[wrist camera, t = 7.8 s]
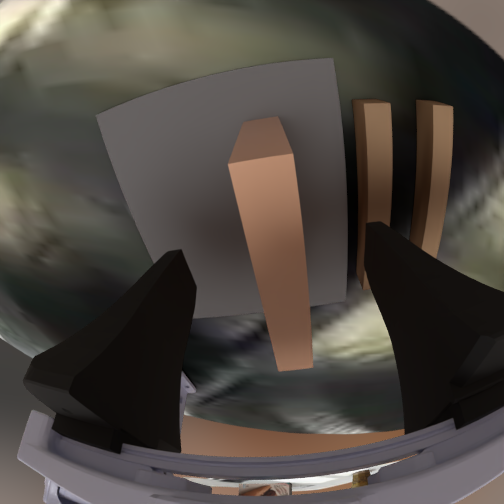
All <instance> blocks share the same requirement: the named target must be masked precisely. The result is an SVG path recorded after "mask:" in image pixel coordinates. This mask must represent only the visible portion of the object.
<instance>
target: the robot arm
mask: <svg viewBox="0 0 504 504" xmlns="http://www.w3.org/2000/svg"><path fill="white" fill-rule="evenodd" d="M364 268H365V272H366V275H367V279H368V282H369V285H370V288H371V291H372V293H373V295H374V298H375V300H376V303H377V305H378V307H379V310H380V312H381V315H382V317H383V320H384V322H385V325H386V327H387V330H388V333H389V336H390V339H391V342H392V346H393V351H394V355H395V359H396V364H397V369H398V374H399V380H400V386H401V394H402V402H403V412H404V429H405V435H403V436H399V437H395V438H392V439H388V440H384V441H380V442H376V443H372V444H368V445H363V446H358V447H353V448H347V449H341V450H335V451H328V452H321V453H313V454H304V455H294V456H277V457H217V456H203V455H192V454H181V440H180V434H181V427H182V421H183V415H184V409H185V403H186V397H187V393H195V392H196V388H195V387H194V385H193V384H192V383H191V382H190V380H189V379H188V378H187V376H186V375H185V374H184V373H183V371H182V365H183V359H184V353H185V349H186V345H187V340H188V336H189V332H190V328H191V324H192V319H193V315H194V310H195V304H196V293H197V286H196V283H195V281H194V278H193V276H192V274H191V271H190V269H189V266H188V264H187V261H186V259H185V256H184V254H183V251H182V249H178V250H172V251H167V252H166V253H165V254H164V255H163V256H162V257H161V258H160V259H159V260H158V261H157V262H156V263H155V264H154V265H153V266H152V267H151V268H150V269H149V270H148V271H147V272H146V273H145V274H144V275H143V276H142V277H141V278H140V279H139V280H138V281H137V282H136V283H135V284H134V285H133V286H132V287H131V288H130V289H129V290H128V291H127V292H126V293H125V294H124V295H123V296H122V297H121V298H120V299H119V300H118V301H117V302H115V303H114V304H113V305H112V306H111V307H110V308H109V309H107V310H106V311H105V312H104V313H103V314H101V315H100V316H99V317H98V318H96V319H95V320H94V321H92V322H91V323H90V324H88V325H87V326H86V327H84V328H83V329H82V330H80V331H79V332H77V333H76V334H74V335H73V336H71V337H70V338H68V339H66V340H65V341H63V342H61V343H60V344H58V345H56V346H54V347H52V348H50V349H48V350H47V351H45V352H43V353H41V354H39V355H37V356H35V357H34V358H33V360H32V362H31V364H30V366H29V368H28V370H27V373H26V375H25V377H24V379H23V383H24V386H25V387H26V389H27V390H28V391H29V392H30V393H31V394H33V395H34V396H35V397H36V398H37V399H39V400H40V401H41V402H43V403H44V404H45V405H46V406H48V407H49V408H50V409H52V410H53V411H54V412H56V417H55V419H54V418H52V417H50V416H48V415H46V414H43V413H41V412H38V411H36V410H32V411H31V414H30V417H29V419H28V422H27V425H26V429H25V431H24V434H23V438H22V441H21V444H20V448H19V451H18V455H17V458H18V459H19V460H20V461H22V462H23V463H25V464H26V465H28V466H29V467H31V468H32V469H34V470H35V471H37V472H38V473H40V474H41V475H43V476H44V477H45V482H44V484H45V491H44V497H43V501H44V502H45V503H46V504H454V503H456V502H458V501H460V500H461V499H463V498H465V497H467V496H468V495H470V494H472V493H473V492H475V491H477V490H478V489H480V488H481V487H483V486H485V485H486V484H488V483H489V482H491V481H492V480H493V479H495V478H496V477H498V476H499V475H501V474H502V473H503V472H504V292H502V291H500V290H497V289H494V288H492V287H489V286H487V285H485V284H482V283H480V282H478V281H476V280H474V279H472V278H470V277H468V276H466V275H464V274H462V273H460V272H458V271H456V270H455V269H453V268H451V267H449V266H447V265H446V264H444V263H442V262H441V261H439V260H437V259H436V258H434V257H433V256H431V255H430V254H428V253H427V252H425V251H424V250H422V249H421V248H419V247H418V246H416V245H415V244H413V243H412V242H410V241H409V240H408V239H406V238H405V237H403V236H402V235H401V234H399V233H398V232H396V231H395V230H393V229H392V228H391V227H389V226H388V225H386V224H384V223H383V222H381V221H377V222H369V223H366V230H365V251H364ZM415 454H417V455H415ZM412 455H415V456H412ZM409 456H412V457H410V458H408V459H405V460H402V461H399V462H396V463H393V464H391V465H388V466H384V467H381V468H380V469H379V472H377V473H375V474H373V475H370V476H369V477H368V478H367V479H368V485H366V486H361V487H355V488H350V489H344V490H337V491H330V492H322V493H312V494H301V495H284V496H236V495H235V496H234V495H219V494H211V493H212V488H211V487H210V486H206V485H202V484H198V483H194V482H191V481H189V480H187V479H185V478H180V477H175V476H174V475H173V473H174V474H181V475H189V476H197V477H206V478H218V479H236V480H275V479H293V478H305V477H315V476H323V475H330V474H337V473H343V472H349V471H354V470H359V469H364V468H368V467H373V466H377V465H381V464H385V463H389V462H392V461H395V460H399V459H403V458H406V457H409Z"/></svg>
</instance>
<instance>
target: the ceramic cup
mask: <svg viewBox="0 0 504 504" xmlns="http://www.w3.org/2000/svg"><path fill="white" fill-rule="evenodd" d="M369 476H370V472H369V470H364V471H359V472H356V473H353V482H352V487H351V488H355V487H361V486H366V485H368V479H367V478H368V477H369Z"/></svg>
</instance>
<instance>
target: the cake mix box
mask: <svg viewBox="0 0 504 504" xmlns="http://www.w3.org/2000/svg"><path fill="white" fill-rule="evenodd" d="M284 495H292V484H291V483H275V484H239V496H284Z"/></svg>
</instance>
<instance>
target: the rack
mask: <svg viewBox="0 0 504 504" xmlns="http://www.w3.org/2000/svg"><path fill="white" fill-rule="evenodd" d="M352 105H353V115H354V126H355V138H356V153H357V175H358V246H357V268H356V273H357V275H358V278H359V281H360V283H361V286H362V289H363V290H368V289H371V288H370V285H369V282H368V279H367V275H366V272H365V268H364V251H365V230H366V223H369V222H377V221H381V222H383V223H384V224H386V225H388V226H389V227H390V215H391V198H392V122H391V106H390V103H388V102H385V101H381V100H378V99H354V100H352ZM416 114H417V164H416V183H415V196H414V207H413V216H412V225H411V232H410V239H409V241H410V242H412V243H413V244H415V245H416V246H418V247H419V248H421V249H422V250H424V251H425V252H427V253H428V254H430V255H431V256H433V257H434V258H436V256H437V252H438V248H439V243H440V238H441V233H442V228H443V223H444V217H445V211H446V205H447V198H448V190H449V182H450V172H451V160H452V144H453V106H450V105H446V104H443V103H440V102H437V101H428V100H416Z"/></svg>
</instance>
